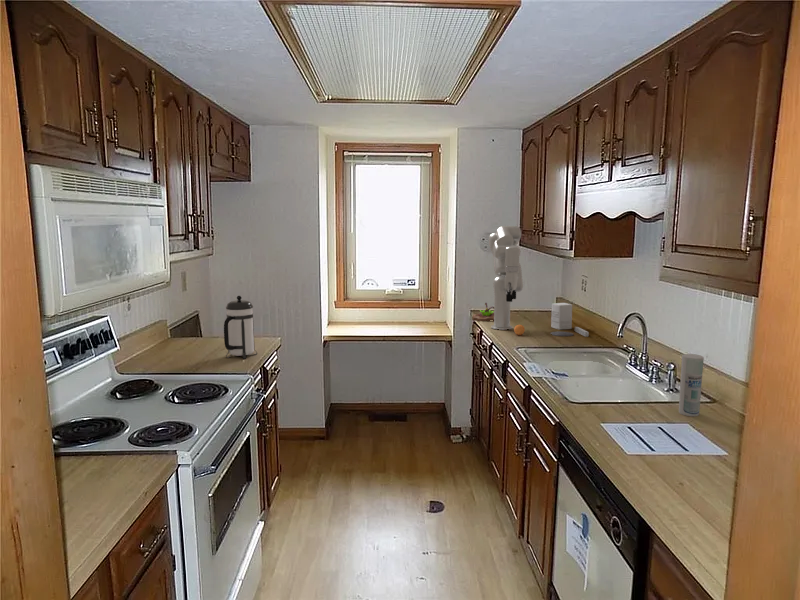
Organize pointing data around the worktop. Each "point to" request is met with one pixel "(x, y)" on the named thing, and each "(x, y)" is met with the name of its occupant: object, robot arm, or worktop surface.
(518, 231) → the robot arm
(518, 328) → the ball
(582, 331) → the stopper wall
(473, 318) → the plant
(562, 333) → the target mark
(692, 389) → the spray can
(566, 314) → the supplement box
